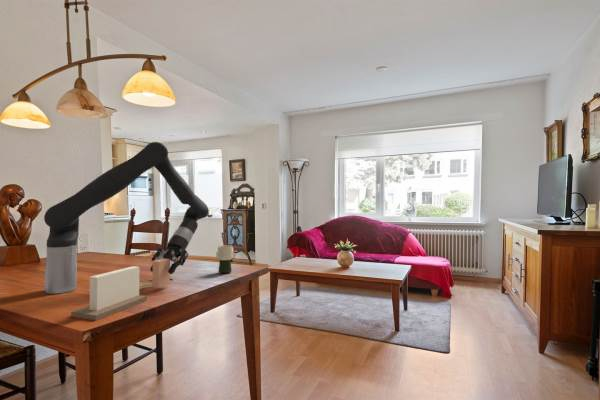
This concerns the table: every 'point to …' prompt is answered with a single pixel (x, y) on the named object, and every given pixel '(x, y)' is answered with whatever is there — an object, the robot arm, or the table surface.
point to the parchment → (146, 283)
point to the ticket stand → (111, 294)
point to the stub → (161, 273)
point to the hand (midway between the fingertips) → (160, 272)
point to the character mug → (225, 258)
